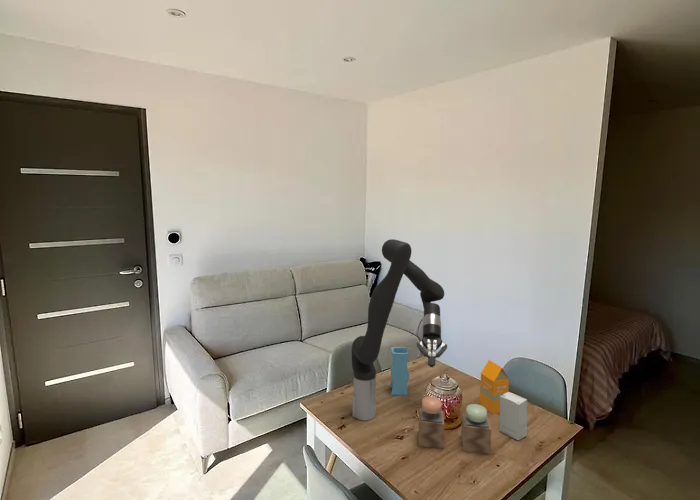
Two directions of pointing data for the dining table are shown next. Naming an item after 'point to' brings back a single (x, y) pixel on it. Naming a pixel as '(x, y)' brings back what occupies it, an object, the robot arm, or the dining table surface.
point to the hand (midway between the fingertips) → (431, 366)
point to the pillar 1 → (431, 429)
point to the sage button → (476, 413)
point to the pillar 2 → (475, 435)
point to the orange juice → (493, 386)
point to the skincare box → (513, 415)
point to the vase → (399, 371)
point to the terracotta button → (431, 405)
